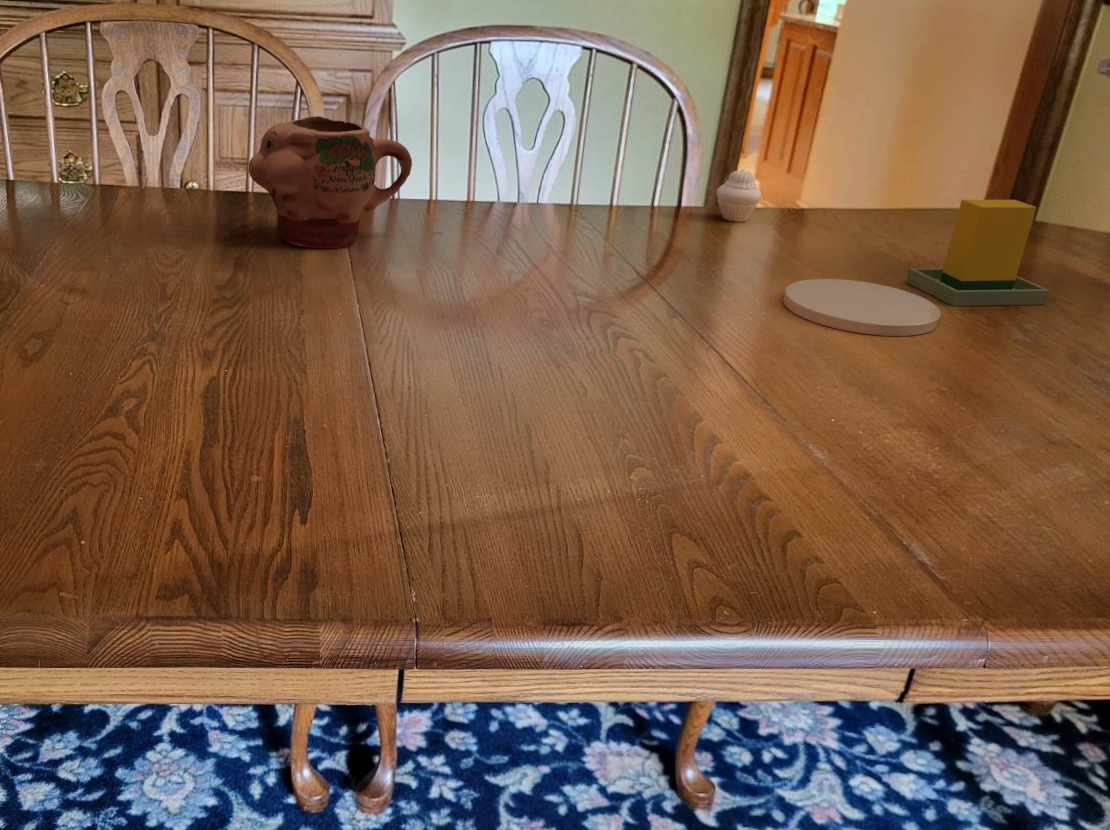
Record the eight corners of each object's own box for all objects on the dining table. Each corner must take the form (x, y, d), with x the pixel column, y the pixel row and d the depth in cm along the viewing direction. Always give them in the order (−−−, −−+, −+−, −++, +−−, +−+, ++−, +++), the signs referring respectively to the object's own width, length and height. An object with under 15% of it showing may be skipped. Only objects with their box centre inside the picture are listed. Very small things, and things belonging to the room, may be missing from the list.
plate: (932, 301, 125) (934, 291, 124) (944, 345, 111) (947, 334, 110) (785, 281, 129) (787, 271, 128) (780, 321, 115) (782, 310, 115)
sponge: (990, 283, 130) (1015, 199, 126) (1011, 293, 127) (1036, 207, 123) (938, 284, 129) (961, 199, 125) (958, 293, 126) (982, 207, 122)
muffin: (766, 222, 155) (775, 172, 152) (735, 226, 152) (744, 175, 149) (733, 212, 160) (741, 163, 157) (703, 215, 157) (711, 166, 154)
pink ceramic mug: (387, 222, 145) (392, 113, 139) (423, 246, 135) (430, 130, 129) (238, 230, 137) (236, 115, 131) (265, 256, 127) (264, 133, 121)
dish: (994, 281, 133) (998, 267, 133) (1045, 304, 125) (1050, 290, 125) (905, 282, 131) (909, 268, 130) (952, 306, 123) (956, 291, 122)
